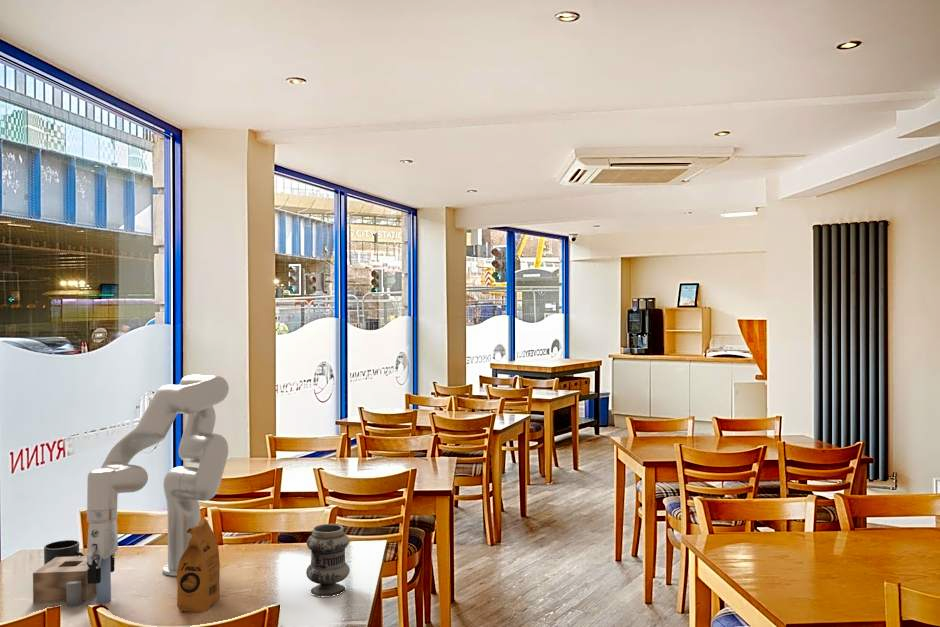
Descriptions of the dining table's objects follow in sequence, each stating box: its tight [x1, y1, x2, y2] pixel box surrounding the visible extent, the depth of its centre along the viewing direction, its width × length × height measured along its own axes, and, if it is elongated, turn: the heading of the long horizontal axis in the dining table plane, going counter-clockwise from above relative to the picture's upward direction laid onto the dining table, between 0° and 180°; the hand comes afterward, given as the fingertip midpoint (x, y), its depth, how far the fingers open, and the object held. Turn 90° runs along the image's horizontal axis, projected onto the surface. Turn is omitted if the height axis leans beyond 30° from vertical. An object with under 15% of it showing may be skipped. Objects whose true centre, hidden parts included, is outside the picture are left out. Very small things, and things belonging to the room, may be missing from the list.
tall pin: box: [95, 556, 112, 604], centre depth 211 cm, size 4×4×14 cm
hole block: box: [32, 555, 96, 603], centre depth 218 cm, size 14×14×8 cm
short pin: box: [66, 580, 83, 608], centre depth 208 cm, size 4×4×6 cm
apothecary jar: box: [306, 523, 351, 598], centre depth 216 cm, size 12×12×18 cm
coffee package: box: [176, 517, 221, 613], centre depth 207 cm, size 10×12×22 cm
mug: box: [43, 539, 85, 566], centre depth 233 cm, size 9×12×9 cm
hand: (101, 577), depth 210 cm, fingers open, 9 cm apart
